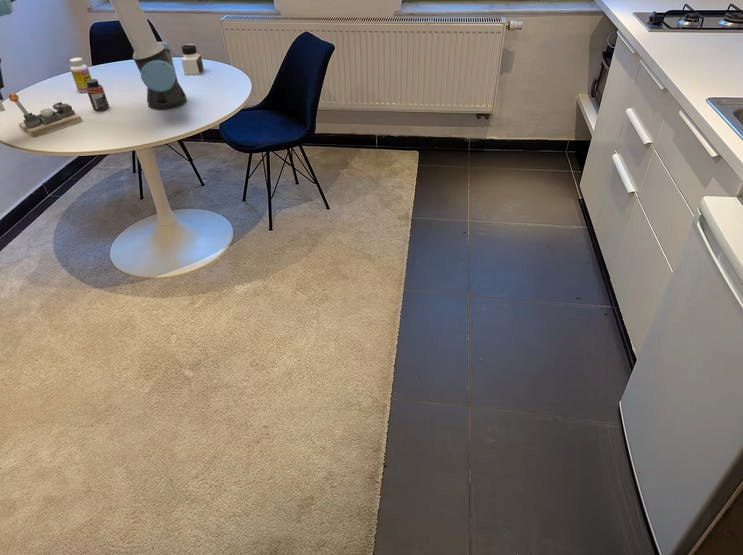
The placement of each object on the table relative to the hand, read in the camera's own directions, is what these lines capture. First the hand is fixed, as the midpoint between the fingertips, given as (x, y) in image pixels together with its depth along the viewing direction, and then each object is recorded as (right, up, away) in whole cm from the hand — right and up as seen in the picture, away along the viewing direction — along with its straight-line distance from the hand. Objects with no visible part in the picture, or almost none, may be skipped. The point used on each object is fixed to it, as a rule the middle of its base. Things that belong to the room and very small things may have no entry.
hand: (1, 110), depth 190 cm
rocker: (+13, +6, +15) cm, 20 cm away
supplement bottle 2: (+22, +8, +26) cm, 35 cm away
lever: (+5, -1, +8) cm, 10 cm away
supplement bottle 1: (+7, +22, +44) cm, 50 cm away
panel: (+9, -1, +14) cm, 17 cm away
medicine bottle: (+49, +35, +58) cm, 84 cm away
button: (+9, +1, +12) cm, 15 cm away
